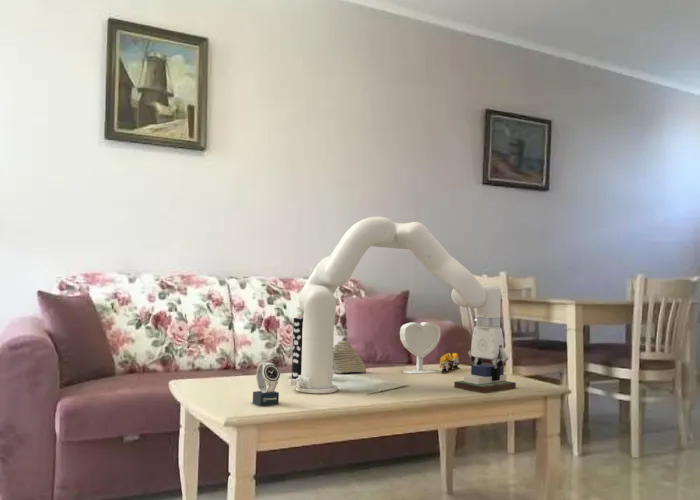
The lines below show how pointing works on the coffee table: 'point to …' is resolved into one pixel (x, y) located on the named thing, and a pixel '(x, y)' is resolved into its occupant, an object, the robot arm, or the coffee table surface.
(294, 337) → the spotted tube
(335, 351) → the fossil tooth
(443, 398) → the coffee table surface
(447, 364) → the figurine set
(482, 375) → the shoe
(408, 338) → the heart sculpture
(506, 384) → the green brown rectangular slab
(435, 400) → the coffee table surface
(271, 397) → the watch
